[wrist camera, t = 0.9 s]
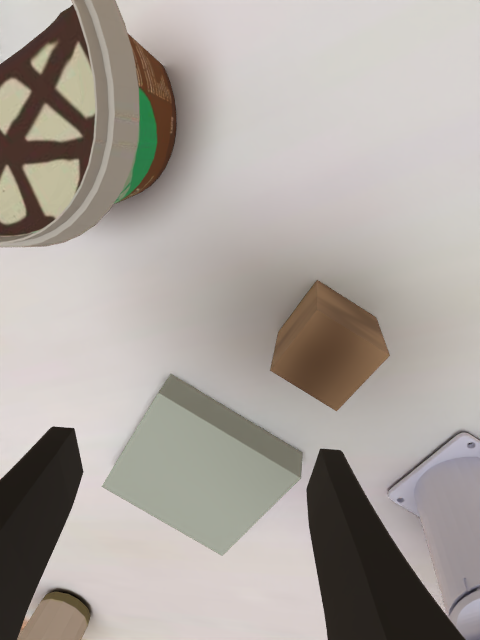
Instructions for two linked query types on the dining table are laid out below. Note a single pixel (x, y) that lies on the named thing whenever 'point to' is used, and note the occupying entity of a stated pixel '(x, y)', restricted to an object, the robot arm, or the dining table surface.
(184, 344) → the dining table surface
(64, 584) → the dining table surface
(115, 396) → the dining table surface
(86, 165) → the food container
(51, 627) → the bottle
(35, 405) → the dining table surface
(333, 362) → the walnut block
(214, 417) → the grey platform
